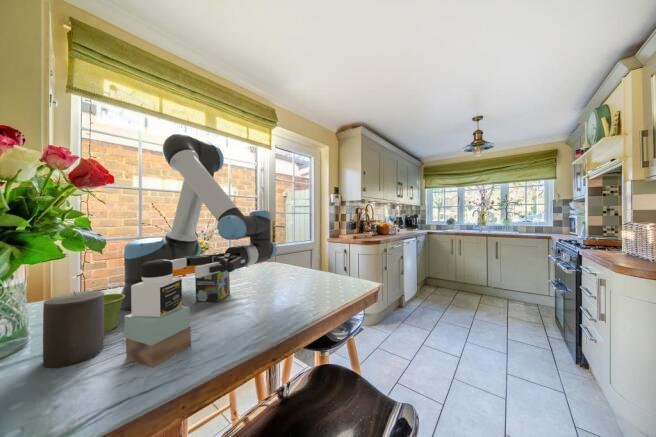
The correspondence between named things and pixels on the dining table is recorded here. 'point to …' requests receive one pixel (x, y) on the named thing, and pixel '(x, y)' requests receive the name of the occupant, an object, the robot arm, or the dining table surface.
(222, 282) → the chalk box
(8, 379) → the dining table surface
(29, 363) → the dining table surface
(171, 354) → the tower base block
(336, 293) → the dining table surface
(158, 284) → the medicine bottle
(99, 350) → the pillar candle
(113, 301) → the plant pot
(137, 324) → the tower top block
